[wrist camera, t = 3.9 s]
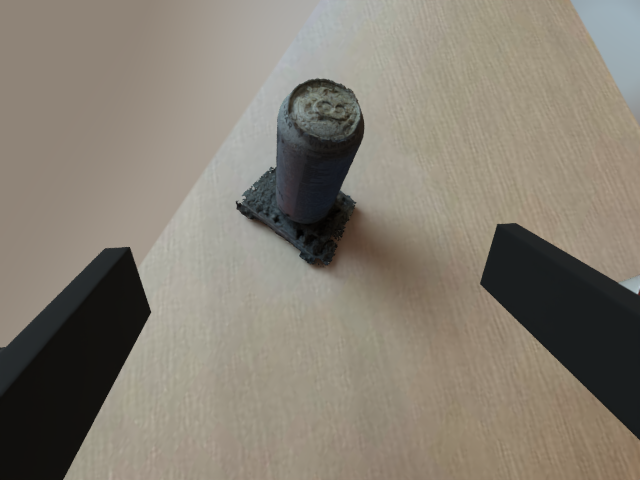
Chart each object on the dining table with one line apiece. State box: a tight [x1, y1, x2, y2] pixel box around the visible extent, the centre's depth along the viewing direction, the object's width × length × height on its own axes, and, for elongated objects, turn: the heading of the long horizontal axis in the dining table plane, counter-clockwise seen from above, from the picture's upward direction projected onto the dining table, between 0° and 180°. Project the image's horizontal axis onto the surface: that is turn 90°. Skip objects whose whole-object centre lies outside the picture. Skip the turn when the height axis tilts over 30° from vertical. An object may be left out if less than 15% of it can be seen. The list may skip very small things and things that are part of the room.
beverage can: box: [236, 79, 364, 265], centre depth 20 cm, size 9×8×12 cm
